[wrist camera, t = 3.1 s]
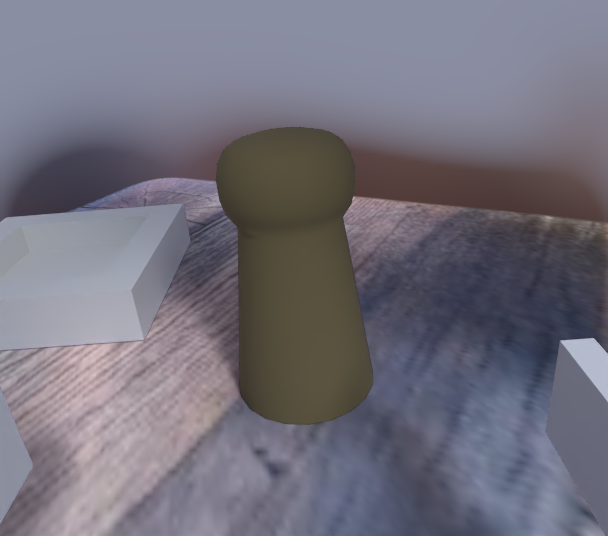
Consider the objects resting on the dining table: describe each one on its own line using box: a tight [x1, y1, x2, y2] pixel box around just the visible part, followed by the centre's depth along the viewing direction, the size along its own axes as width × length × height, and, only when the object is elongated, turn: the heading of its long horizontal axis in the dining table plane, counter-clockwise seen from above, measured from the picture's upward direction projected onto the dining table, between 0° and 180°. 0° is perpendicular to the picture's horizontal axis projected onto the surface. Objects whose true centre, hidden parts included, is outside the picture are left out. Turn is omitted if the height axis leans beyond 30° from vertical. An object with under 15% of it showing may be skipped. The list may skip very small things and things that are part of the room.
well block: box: [0, 203, 191, 351], centre depth 33 cm, size 13×13×3 cm
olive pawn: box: [216, 127, 373, 425], centre depth 21 cm, size 6×6×11 cm
